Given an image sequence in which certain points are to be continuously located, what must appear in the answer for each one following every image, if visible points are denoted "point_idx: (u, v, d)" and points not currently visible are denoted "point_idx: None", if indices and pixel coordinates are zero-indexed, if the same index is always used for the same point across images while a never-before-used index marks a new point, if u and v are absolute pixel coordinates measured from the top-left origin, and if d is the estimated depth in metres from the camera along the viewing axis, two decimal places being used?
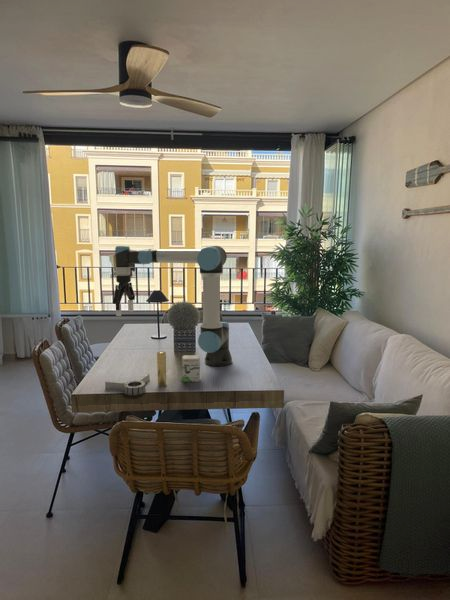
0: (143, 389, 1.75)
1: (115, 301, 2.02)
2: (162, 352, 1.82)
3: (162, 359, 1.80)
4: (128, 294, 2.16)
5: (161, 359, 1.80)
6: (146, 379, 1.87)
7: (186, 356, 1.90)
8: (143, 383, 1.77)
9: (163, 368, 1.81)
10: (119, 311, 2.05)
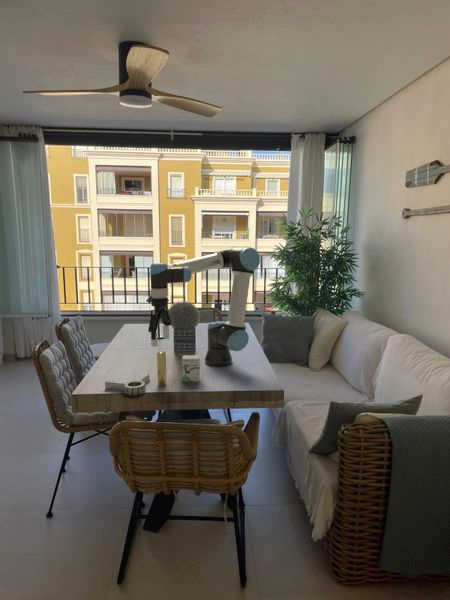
0: (143, 389, 1.75)
1: (151, 329, 1.70)
2: (162, 352, 1.82)
3: (162, 359, 1.80)
4: (164, 319, 1.84)
5: (161, 359, 1.80)
6: (146, 379, 1.87)
7: (186, 356, 1.90)
8: (143, 383, 1.77)
9: (163, 368, 1.81)
10: (155, 341, 1.74)
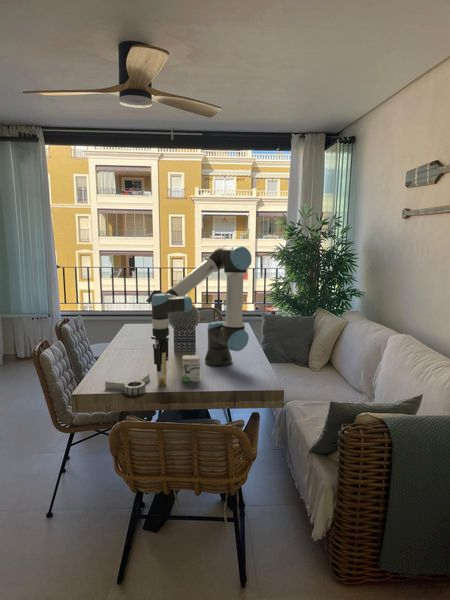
0: (143, 389, 1.75)
1: (157, 362, 1.77)
2: (162, 352, 1.82)
3: (162, 359, 1.80)
4: None
5: None
6: (146, 379, 1.87)
7: (186, 356, 1.90)
8: (143, 383, 1.77)
9: (163, 368, 1.81)
10: (161, 372, 1.80)
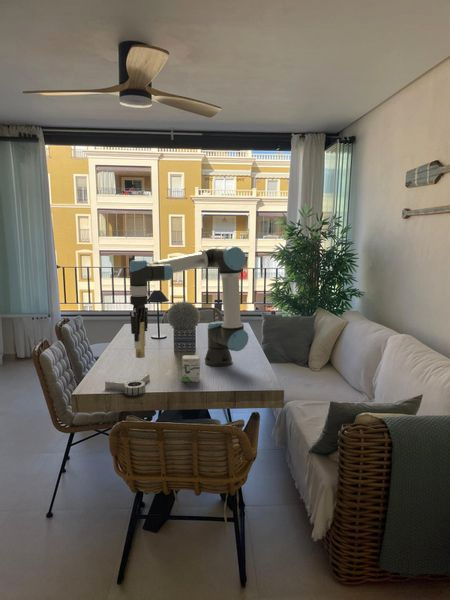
0: (143, 389, 1.75)
1: (134, 331, 1.69)
2: (140, 321, 1.74)
3: (140, 328, 1.72)
4: None
5: None
6: (146, 379, 1.87)
7: (186, 356, 1.90)
8: (143, 383, 1.77)
9: (141, 338, 1.73)
10: (138, 343, 1.72)
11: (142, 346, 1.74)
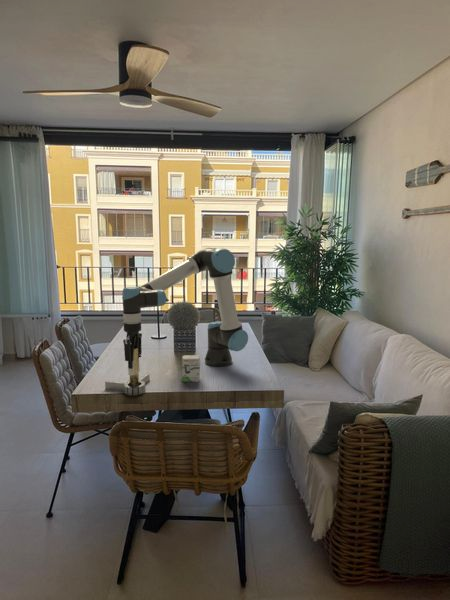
0: (143, 389, 1.75)
1: (128, 359, 1.69)
2: (134, 348, 1.74)
3: (134, 355, 1.72)
4: None
5: None
6: (146, 379, 1.87)
7: (186, 356, 1.90)
8: (143, 383, 1.77)
9: (135, 365, 1.73)
10: (132, 369, 1.72)
11: (136, 373, 1.74)
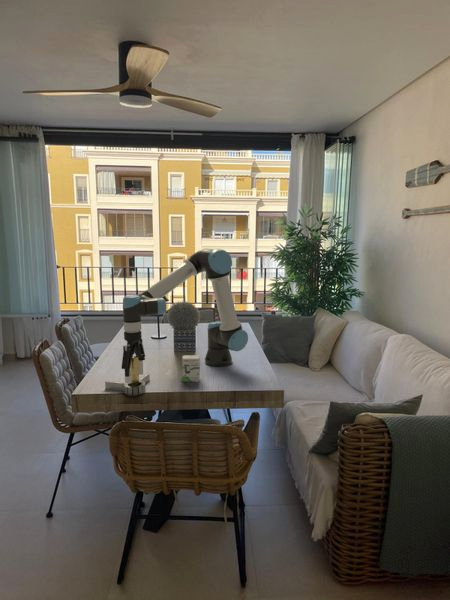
0: (143, 389, 1.75)
1: (124, 367, 1.66)
2: (134, 357, 1.74)
3: (134, 364, 1.73)
4: (137, 353, 1.78)
5: (133, 364, 1.73)
6: (146, 379, 1.87)
7: (186, 356, 1.90)
8: (143, 383, 1.77)
9: (135, 374, 1.74)
10: (129, 377, 1.69)
11: (136, 381, 1.75)
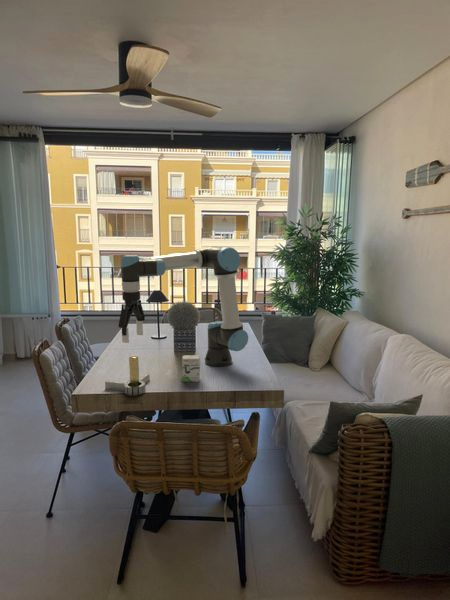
0: (143, 389, 1.75)
1: (121, 325, 1.62)
2: (134, 357, 1.74)
3: (134, 364, 1.73)
4: (137, 314, 1.76)
5: (133, 364, 1.73)
6: (146, 379, 1.87)
7: (186, 356, 1.90)
8: (143, 383, 1.77)
9: (135, 374, 1.74)
10: (126, 336, 1.65)
11: (136, 381, 1.75)
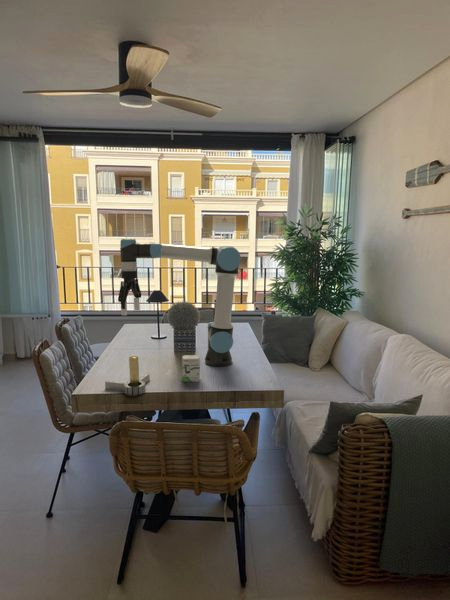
0: (143, 389, 1.75)
1: (120, 299, 1.85)
2: (134, 357, 1.74)
3: (134, 364, 1.73)
4: (134, 291, 1.99)
5: (133, 364, 1.73)
6: (146, 379, 1.87)
7: (186, 356, 1.90)
8: (143, 383, 1.77)
9: (135, 374, 1.74)
10: (125, 310, 1.88)
11: (136, 381, 1.75)
